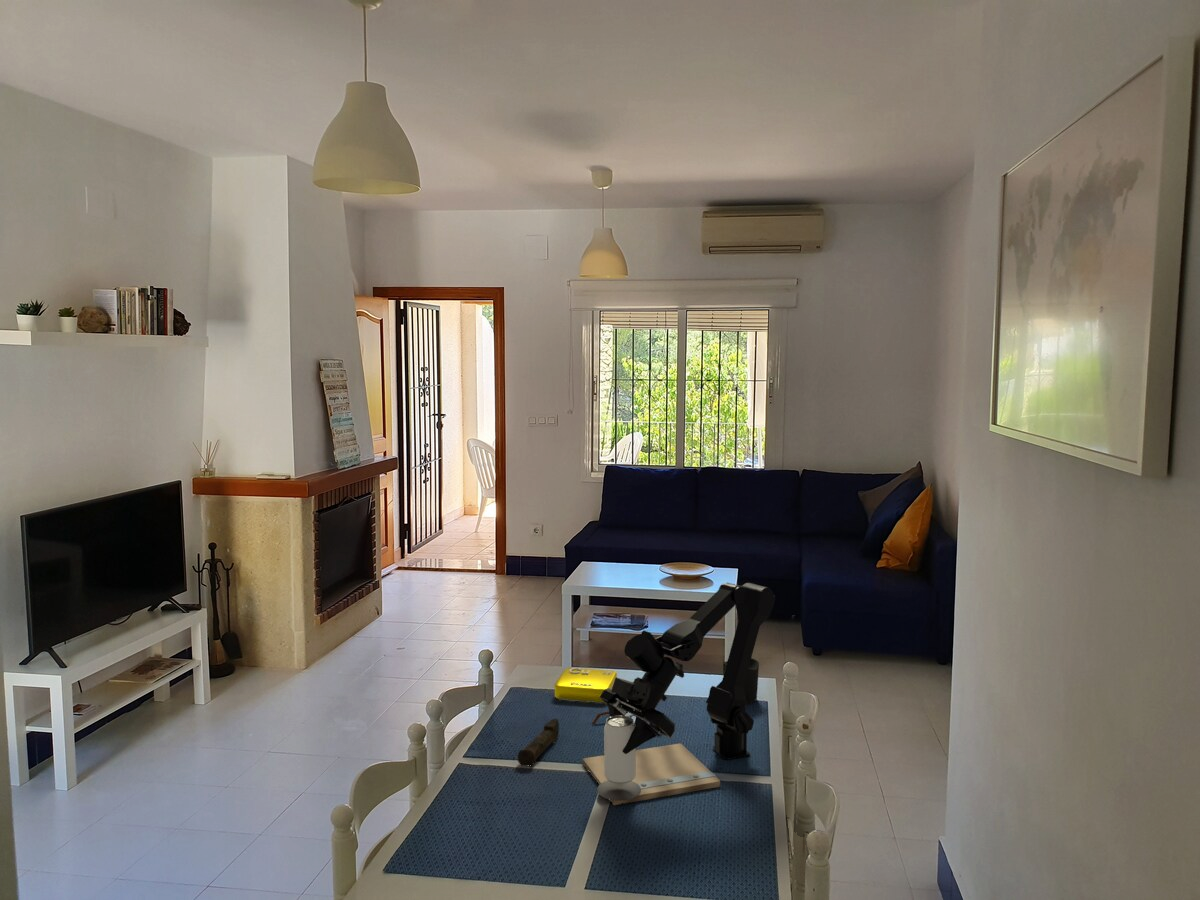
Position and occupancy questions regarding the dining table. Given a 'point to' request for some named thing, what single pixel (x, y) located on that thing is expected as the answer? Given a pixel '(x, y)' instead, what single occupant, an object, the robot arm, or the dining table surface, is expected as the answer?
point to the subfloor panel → (655, 775)
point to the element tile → (584, 684)
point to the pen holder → (750, 680)
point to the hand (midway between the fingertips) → (614, 747)
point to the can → (618, 750)
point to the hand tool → (539, 743)
